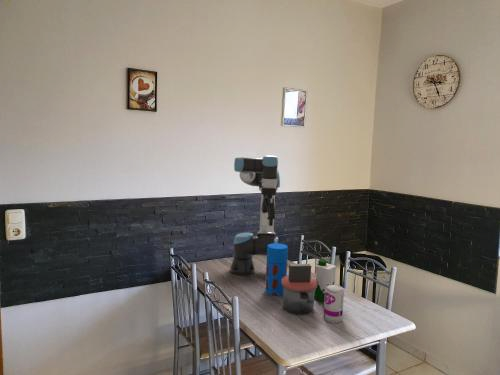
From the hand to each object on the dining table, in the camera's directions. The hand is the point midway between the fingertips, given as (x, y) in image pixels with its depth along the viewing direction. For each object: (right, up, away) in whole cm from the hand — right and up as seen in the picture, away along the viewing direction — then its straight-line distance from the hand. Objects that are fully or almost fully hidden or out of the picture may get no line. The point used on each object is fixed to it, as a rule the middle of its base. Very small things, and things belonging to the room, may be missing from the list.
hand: (267, 228), depth 187 cm
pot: (+14, -37, -9) cm, 41 cm away
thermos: (+5, -35, +10) cm, 37 cm away
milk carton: (+29, -37, +2) cm, 47 cm away
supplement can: (+29, -39, -19) cm, 52 cm away
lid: (+15, -26, -10) cm, 31 cm away
